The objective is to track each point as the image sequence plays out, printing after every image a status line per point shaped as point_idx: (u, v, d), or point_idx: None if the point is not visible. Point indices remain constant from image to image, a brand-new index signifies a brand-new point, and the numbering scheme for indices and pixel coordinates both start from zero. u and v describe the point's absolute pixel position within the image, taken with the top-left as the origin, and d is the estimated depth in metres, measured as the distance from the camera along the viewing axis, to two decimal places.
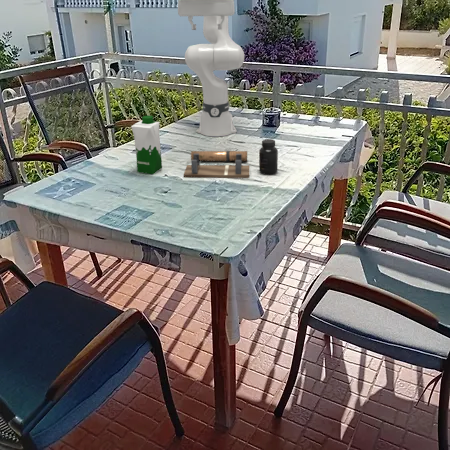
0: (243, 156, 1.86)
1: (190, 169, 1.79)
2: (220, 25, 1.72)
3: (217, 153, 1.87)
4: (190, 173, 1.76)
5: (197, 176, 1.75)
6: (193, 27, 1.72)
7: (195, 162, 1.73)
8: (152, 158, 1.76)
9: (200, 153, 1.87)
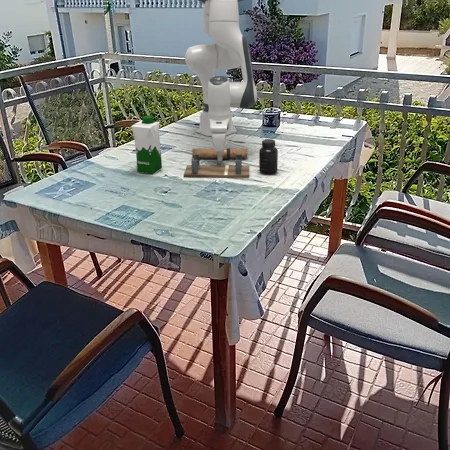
0: (243, 148, 1.91)
1: (190, 169, 1.79)
2: None
3: None
4: (190, 173, 1.76)
5: (197, 176, 1.75)
6: None
7: (195, 162, 1.73)
8: (152, 158, 1.76)
9: None
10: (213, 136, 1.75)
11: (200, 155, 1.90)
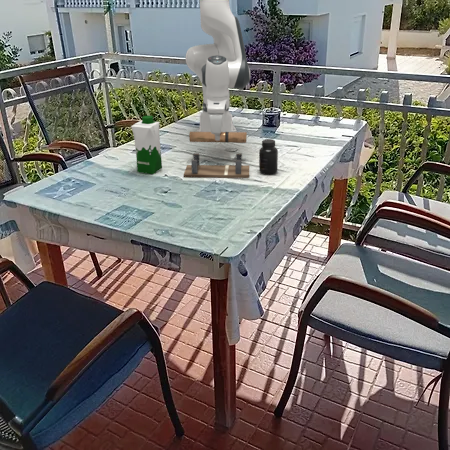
0: (242, 137, 1.83)
1: (190, 169, 1.79)
2: None
3: None
4: (190, 173, 1.76)
5: (197, 176, 1.75)
6: (219, 137, 1.83)
7: (195, 162, 1.73)
8: (152, 158, 1.76)
9: (199, 133, 1.84)
10: (210, 117, 1.72)
11: None
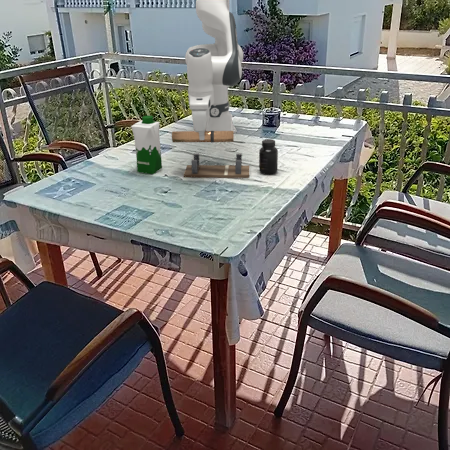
0: (229, 135, 1.70)
1: (190, 169, 1.79)
2: None
3: None
4: (190, 173, 1.76)
5: (197, 176, 1.75)
6: (204, 137, 1.70)
7: (195, 162, 1.73)
8: (152, 158, 1.76)
9: (182, 133, 1.71)
10: (193, 113, 1.59)
11: None
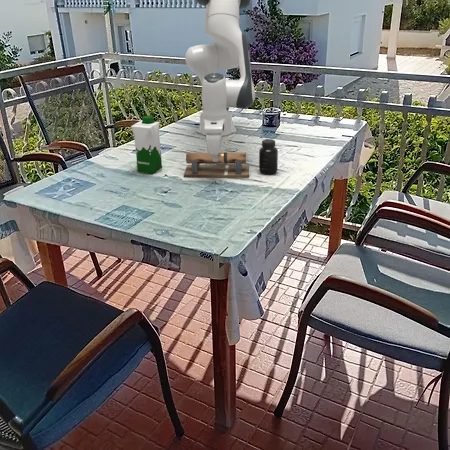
0: (242, 157, 1.74)
1: (190, 169, 1.79)
2: None
3: None
4: (190, 173, 1.76)
5: (197, 176, 1.75)
6: (217, 159, 1.73)
7: (195, 162, 1.73)
8: (152, 158, 1.76)
9: (196, 154, 1.75)
10: (207, 137, 1.63)
11: None
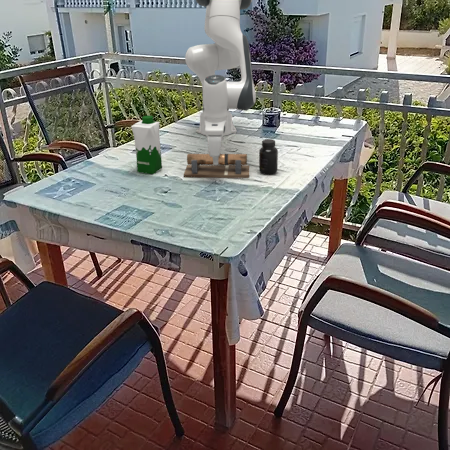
0: (242, 158, 1.74)
1: (190, 169, 1.79)
2: None
3: None
4: (190, 173, 1.76)
5: (197, 176, 1.75)
6: (218, 162, 1.72)
7: (195, 162, 1.73)
8: (152, 158, 1.76)
9: (197, 155, 1.76)
10: (208, 139, 1.63)
11: None
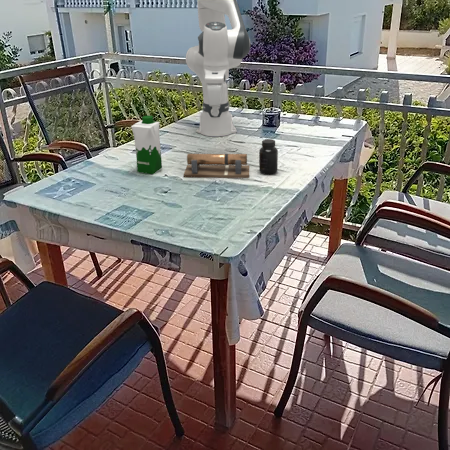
0: (242, 157, 1.74)
1: (190, 169, 1.79)
2: None
3: (215, 155, 1.76)
4: (190, 173, 1.76)
5: (197, 176, 1.75)
6: (218, 113, 1.69)
7: (195, 162, 1.73)
8: (152, 158, 1.76)
9: (197, 154, 1.76)
10: (208, 87, 1.60)
11: (197, 164, 1.78)
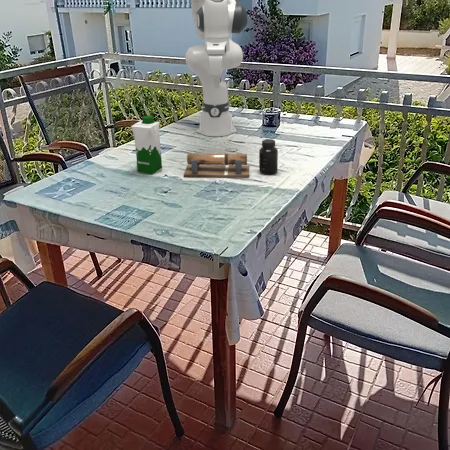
0: (242, 157, 1.74)
1: (190, 169, 1.79)
2: None
3: (215, 155, 1.76)
4: (190, 173, 1.76)
5: (197, 176, 1.75)
6: (219, 85, 1.73)
7: (195, 162, 1.73)
8: (152, 158, 1.76)
9: (197, 154, 1.76)
10: (209, 58, 1.64)
11: (197, 164, 1.78)
